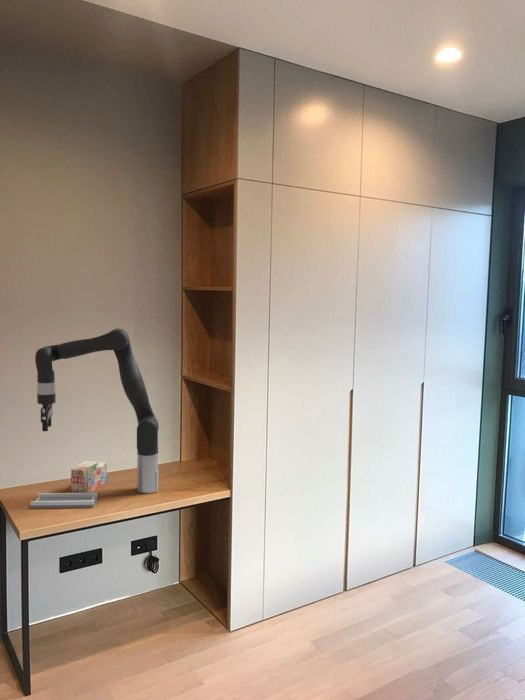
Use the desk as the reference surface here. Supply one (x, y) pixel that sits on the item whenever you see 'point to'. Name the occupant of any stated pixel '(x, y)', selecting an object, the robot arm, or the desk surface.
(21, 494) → the desk surface
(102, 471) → the stack of blocks
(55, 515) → the desk surface
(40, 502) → the base board
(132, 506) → the desk surface
